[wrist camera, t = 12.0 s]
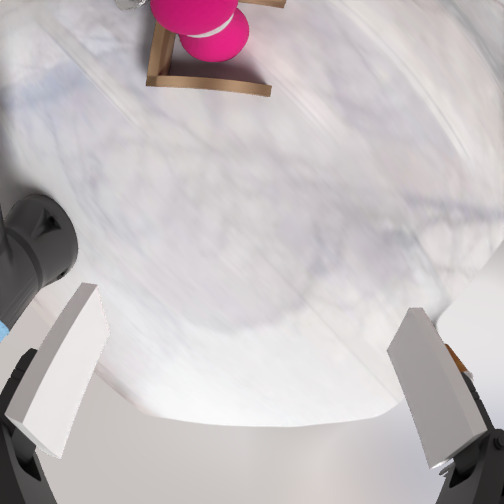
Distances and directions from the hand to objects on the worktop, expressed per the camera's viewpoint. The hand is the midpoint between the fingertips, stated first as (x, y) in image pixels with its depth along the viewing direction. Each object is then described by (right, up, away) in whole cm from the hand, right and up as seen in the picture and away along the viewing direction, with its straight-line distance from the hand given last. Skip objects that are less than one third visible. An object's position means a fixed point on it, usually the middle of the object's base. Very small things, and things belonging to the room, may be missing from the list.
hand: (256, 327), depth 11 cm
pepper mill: (-4, +28, +16) cm, 33 cm away
